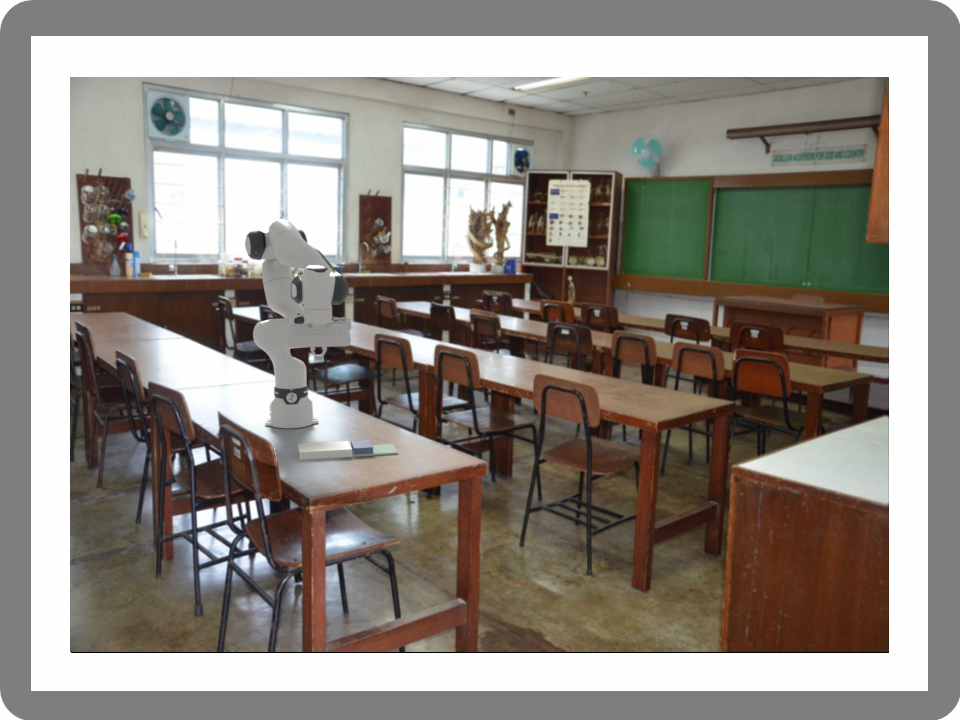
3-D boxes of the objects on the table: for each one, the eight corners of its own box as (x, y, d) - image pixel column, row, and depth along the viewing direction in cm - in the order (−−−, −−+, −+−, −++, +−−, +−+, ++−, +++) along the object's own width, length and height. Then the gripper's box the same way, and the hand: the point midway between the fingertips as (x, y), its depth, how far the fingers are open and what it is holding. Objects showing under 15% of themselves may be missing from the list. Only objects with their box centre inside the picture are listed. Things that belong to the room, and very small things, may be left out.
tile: (351, 446, 256) (350, 440, 256) (369, 445, 258) (369, 439, 257) (354, 454, 247) (353, 448, 247) (373, 453, 249) (373, 447, 249)
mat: (350, 448, 256) (350, 446, 256) (393, 445, 260) (393, 444, 260) (353, 456, 247) (353, 454, 247) (397, 454, 251) (397, 452, 250)
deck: (298, 451, 252) (298, 443, 252) (348, 448, 256) (348, 440, 256) (299, 460, 243) (299, 452, 242) (351, 456, 247) (351, 449, 246)
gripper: (350, 315, 254) (350, 358, 256) (284, 316, 248) (286, 360, 251) (352, 318, 248) (352, 361, 250) (285, 319, 242) (286, 363, 245)
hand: (318, 360), depth 250 cm, fingers closed
